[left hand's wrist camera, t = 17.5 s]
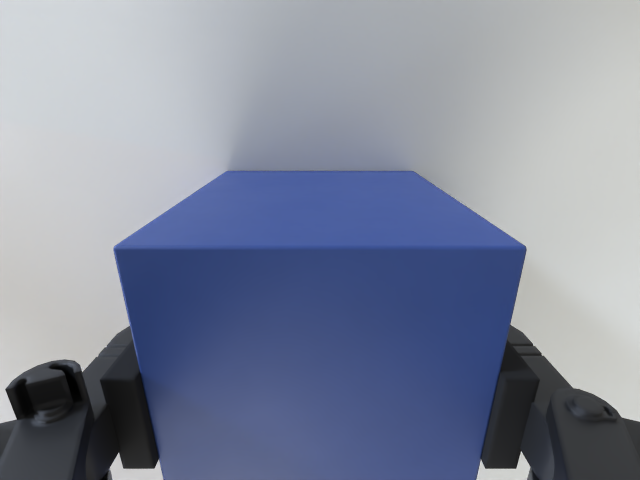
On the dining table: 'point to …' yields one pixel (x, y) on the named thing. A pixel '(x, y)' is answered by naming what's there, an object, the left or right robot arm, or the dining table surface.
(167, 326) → the block
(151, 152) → the dining table surface
